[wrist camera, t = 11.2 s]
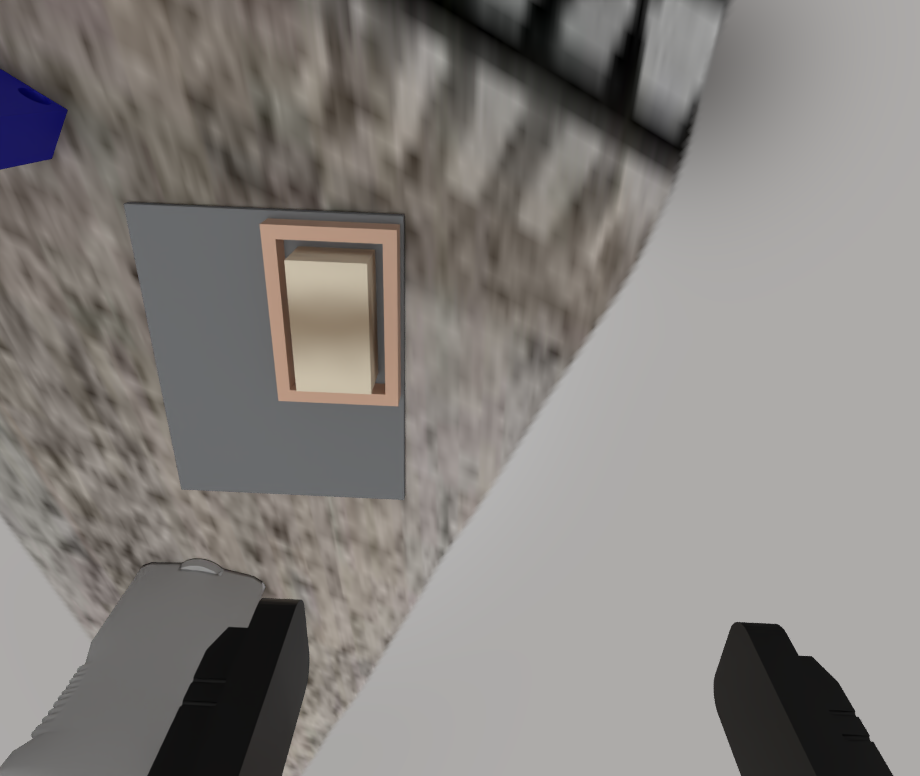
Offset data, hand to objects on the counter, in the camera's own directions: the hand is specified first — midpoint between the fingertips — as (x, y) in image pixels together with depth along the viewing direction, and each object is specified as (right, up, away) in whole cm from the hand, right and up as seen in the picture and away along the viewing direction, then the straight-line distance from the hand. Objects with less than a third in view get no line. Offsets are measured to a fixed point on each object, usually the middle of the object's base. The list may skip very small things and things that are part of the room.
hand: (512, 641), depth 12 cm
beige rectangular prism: (-8, +9, +26) cm, 29 cm away
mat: (-13, +6, +29) cm, 32 cm away
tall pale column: (-21, -10, +38) cm, 44 cm away
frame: (-8, +10, +27) cm, 30 cm away
